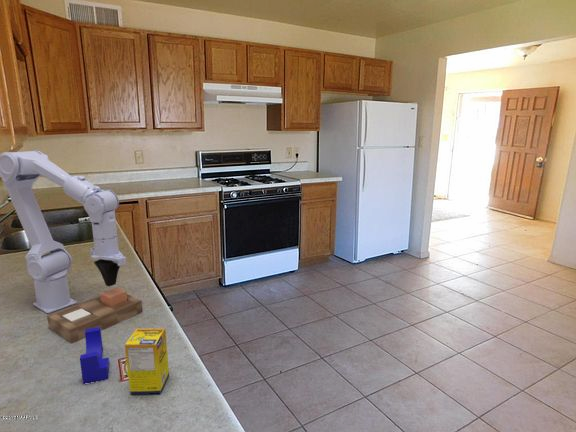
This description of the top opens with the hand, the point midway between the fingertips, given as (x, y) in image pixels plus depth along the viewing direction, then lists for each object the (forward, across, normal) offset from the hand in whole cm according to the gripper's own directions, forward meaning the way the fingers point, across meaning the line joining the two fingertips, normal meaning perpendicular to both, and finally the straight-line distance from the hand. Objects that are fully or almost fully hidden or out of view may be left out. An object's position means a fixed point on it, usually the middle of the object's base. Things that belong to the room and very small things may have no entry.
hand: (110, 284), depth 101 cm
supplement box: (+9, +34, -12) cm, 37 cm away
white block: (+8, 0, -10) cm, 13 cm away
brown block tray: (+8, 0, -5) cm, 10 cm away
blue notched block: (+9, +19, -15) cm, 26 cm away
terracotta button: (+6, 0, 0) cm, 6 cm away
